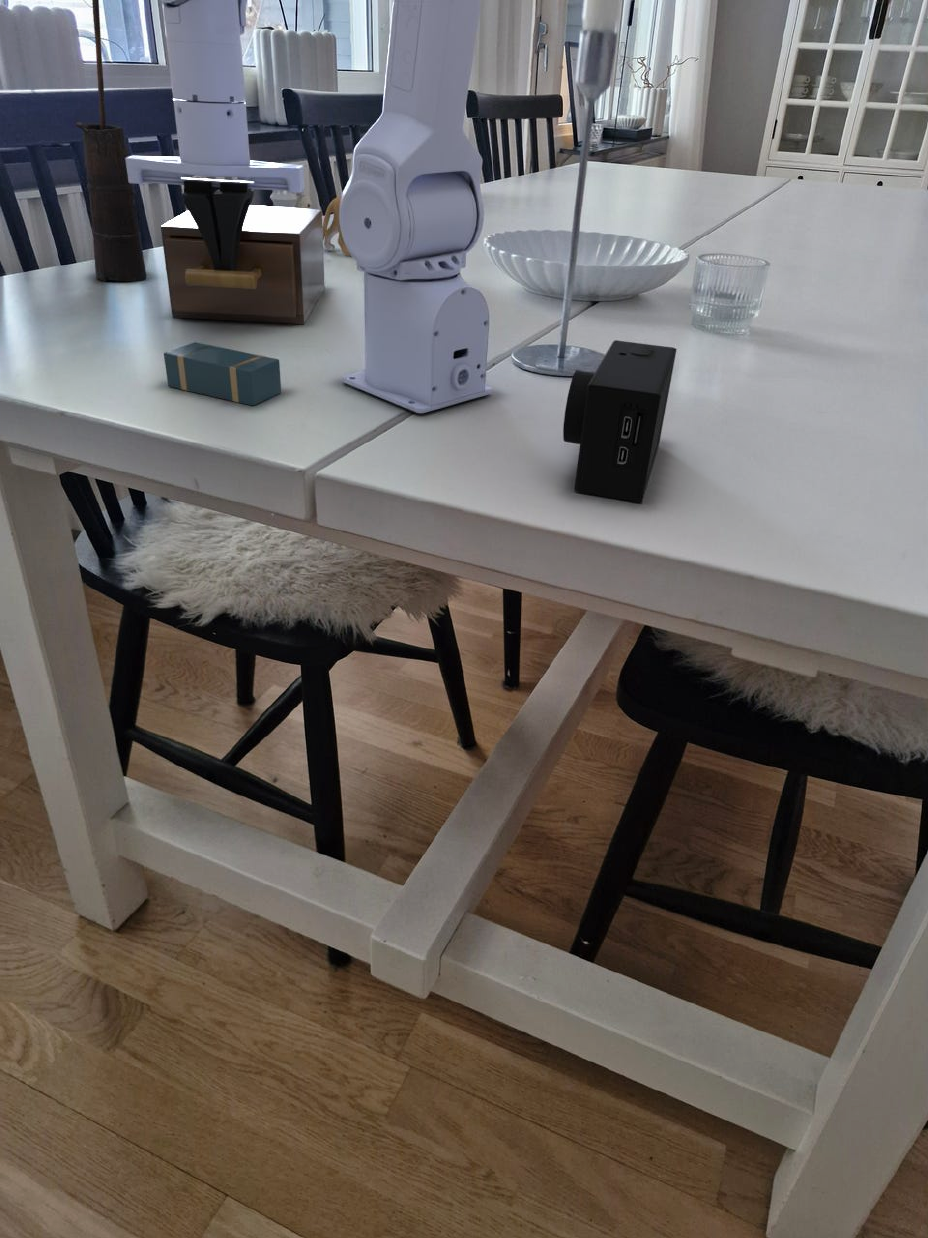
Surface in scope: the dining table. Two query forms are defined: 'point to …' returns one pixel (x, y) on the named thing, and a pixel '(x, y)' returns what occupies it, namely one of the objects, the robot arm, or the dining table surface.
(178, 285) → the drawer
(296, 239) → the cabinet
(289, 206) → the rook chess piece
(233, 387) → the bundle
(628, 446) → the digital camera
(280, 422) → the dining table surface
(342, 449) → the dining table surface
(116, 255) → the butter churn
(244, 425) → the dining table surface
